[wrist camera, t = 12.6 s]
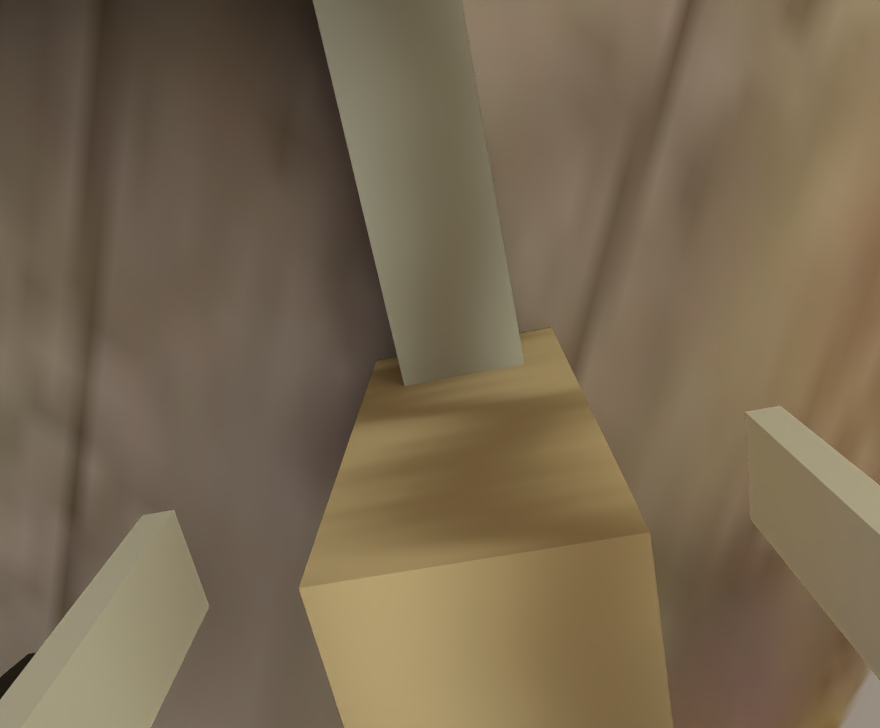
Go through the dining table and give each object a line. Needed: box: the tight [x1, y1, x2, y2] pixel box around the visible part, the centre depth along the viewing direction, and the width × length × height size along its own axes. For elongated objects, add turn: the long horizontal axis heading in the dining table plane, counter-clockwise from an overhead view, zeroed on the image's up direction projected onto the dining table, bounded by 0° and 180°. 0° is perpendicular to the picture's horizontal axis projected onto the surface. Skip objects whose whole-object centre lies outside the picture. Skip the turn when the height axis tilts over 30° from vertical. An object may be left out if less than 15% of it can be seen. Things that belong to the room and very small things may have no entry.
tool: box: [299, 0, 673, 728], centre depth 12 cm, size 5×22×10 cm, turn 12°
